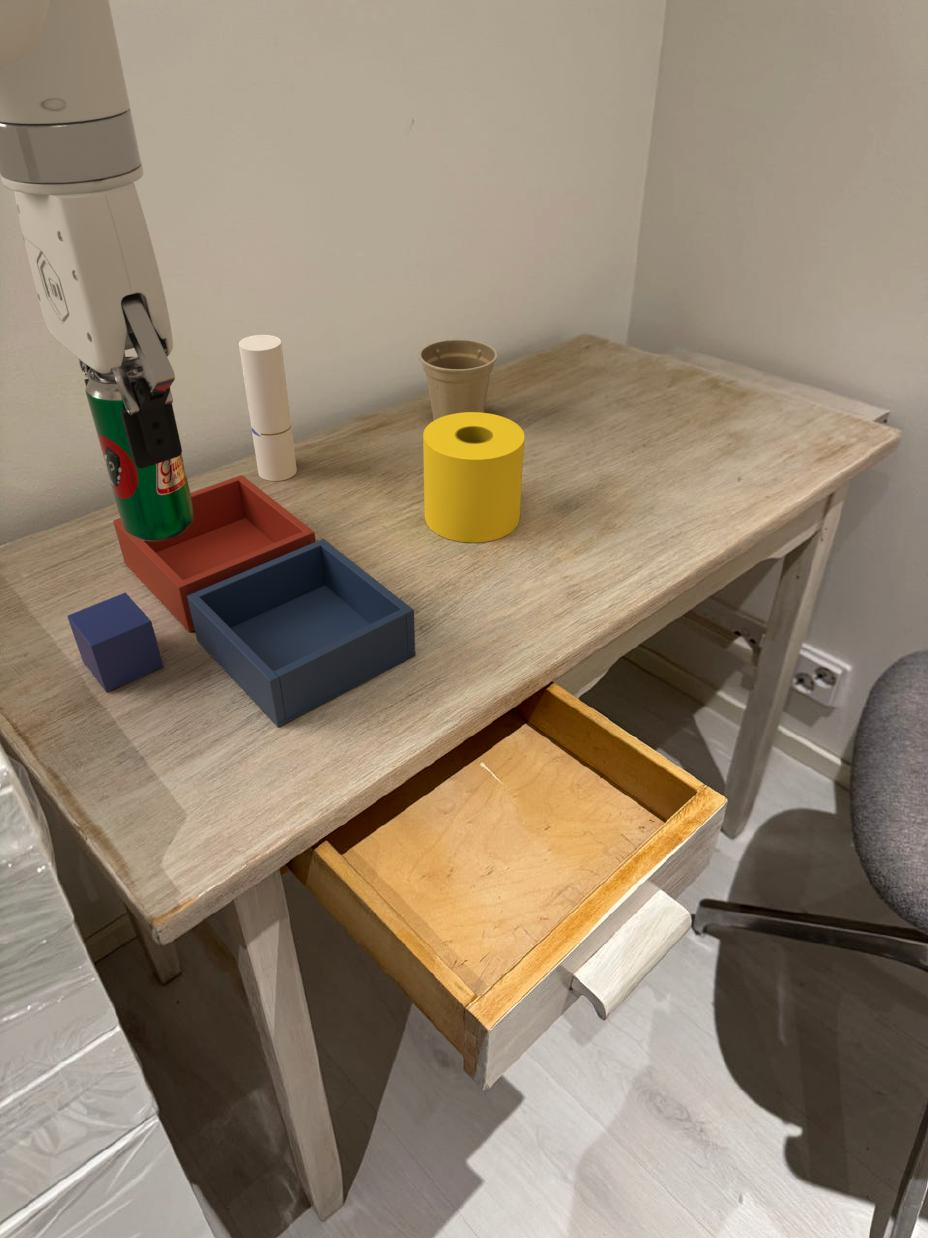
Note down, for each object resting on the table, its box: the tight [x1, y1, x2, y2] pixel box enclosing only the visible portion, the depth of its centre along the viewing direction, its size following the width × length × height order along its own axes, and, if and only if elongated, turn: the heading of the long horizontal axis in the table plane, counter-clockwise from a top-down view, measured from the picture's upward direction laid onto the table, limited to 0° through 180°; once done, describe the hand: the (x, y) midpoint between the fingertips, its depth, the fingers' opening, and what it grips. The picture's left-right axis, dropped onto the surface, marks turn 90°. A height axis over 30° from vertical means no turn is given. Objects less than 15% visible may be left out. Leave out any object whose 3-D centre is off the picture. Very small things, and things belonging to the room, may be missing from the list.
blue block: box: [67, 592, 164, 693], centre depth 74 cm, size 5×5×5 cm
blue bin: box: [187, 538, 416, 728], centre depth 76 cm, size 14×14×5 cm
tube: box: [238, 334, 298, 482], centre depth 96 cm, size 4×4×15 cm
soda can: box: [85, 356, 195, 541], centre depth 61 cm, size 5×5×12 cm
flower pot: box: [418, 338, 499, 421], centre depth 109 cm, size 9×9×9 cm
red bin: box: [112, 474, 317, 633], centre depth 85 cm, size 14×14×5 cm
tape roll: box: [422, 412, 525, 544], centre depth 91 cm, size 10×10×9 cm
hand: (139, 441), depth 61 cm, fingers closed on soda can, 5 cm apart
